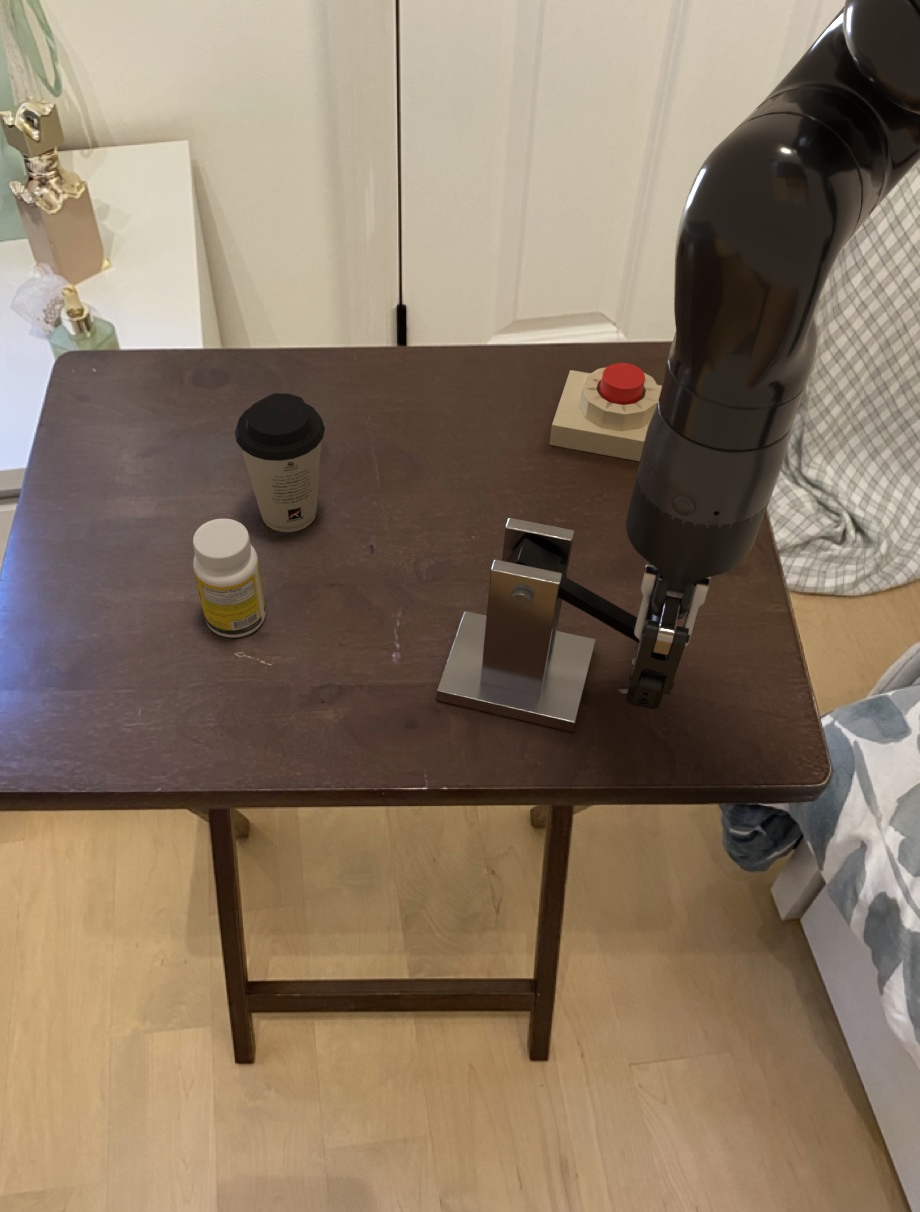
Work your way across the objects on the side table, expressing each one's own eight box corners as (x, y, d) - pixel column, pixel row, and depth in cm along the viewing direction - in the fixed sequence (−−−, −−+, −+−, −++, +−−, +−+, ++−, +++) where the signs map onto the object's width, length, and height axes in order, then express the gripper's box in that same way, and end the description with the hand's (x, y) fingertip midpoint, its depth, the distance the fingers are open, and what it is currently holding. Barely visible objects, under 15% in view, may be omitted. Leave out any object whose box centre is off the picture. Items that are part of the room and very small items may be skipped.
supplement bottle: (220, 587, 85) (204, 507, 79) (275, 601, 84) (264, 521, 78) (195, 631, 83) (176, 552, 76) (252, 646, 82) (238, 567, 75)
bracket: (593, 649, 81) (621, 523, 71) (572, 732, 77) (599, 610, 66) (464, 621, 83) (473, 494, 73) (436, 700, 78) (441, 577, 68)
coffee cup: (316, 549, 88) (308, 451, 80) (235, 534, 89) (219, 436, 81) (340, 492, 92) (335, 393, 84) (262, 478, 93) (249, 380, 85)
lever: (660, 628, 75) (682, 610, 73) (649, 682, 72) (671, 665, 70) (512, 543, 73) (530, 522, 71) (494, 596, 70) (512, 575, 68)
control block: (676, 409, 98) (686, 371, 94) (663, 466, 93) (673, 428, 90) (567, 390, 99) (572, 352, 96) (549, 445, 95) (554, 407, 92)
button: (644, 383, 94) (648, 366, 93) (638, 409, 92) (641, 392, 91) (603, 376, 95) (606, 359, 93) (596, 401, 93) (599, 384, 91)
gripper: (761, 577, 56) (691, 757, 70) (784, 408, 64) (718, 599, 78) (617, 548, 58) (576, 730, 71) (658, 386, 66) (614, 577, 79)
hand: (650, 661), depth 74 cm, fingers open, 7 cm apart
